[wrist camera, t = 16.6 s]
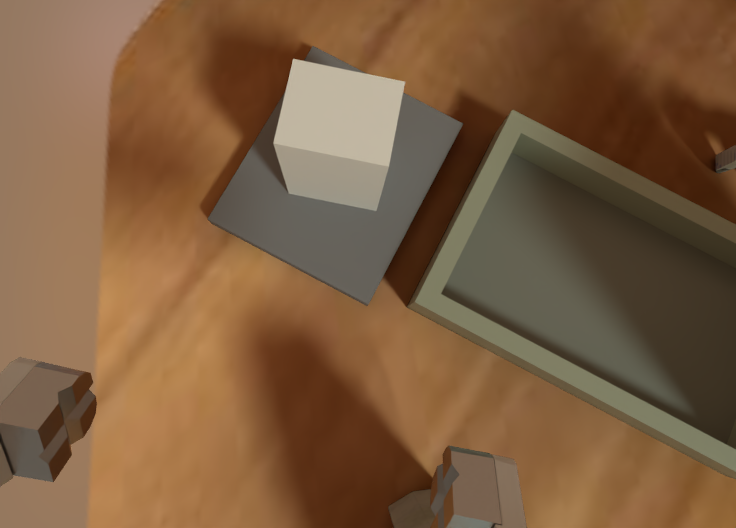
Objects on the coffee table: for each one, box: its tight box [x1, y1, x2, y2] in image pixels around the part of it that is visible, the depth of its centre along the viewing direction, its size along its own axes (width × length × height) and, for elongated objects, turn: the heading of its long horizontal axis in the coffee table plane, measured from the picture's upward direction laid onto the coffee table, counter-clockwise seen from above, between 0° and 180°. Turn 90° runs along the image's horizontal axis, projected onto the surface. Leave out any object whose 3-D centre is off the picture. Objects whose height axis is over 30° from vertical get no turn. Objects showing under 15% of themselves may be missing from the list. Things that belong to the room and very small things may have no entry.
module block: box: [273, 59, 405, 211], centre depth 25 cm, size 4×5×7 cm
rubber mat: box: [208, 46, 463, 306], centre depth 29 cm, size 12×10×1 cm
